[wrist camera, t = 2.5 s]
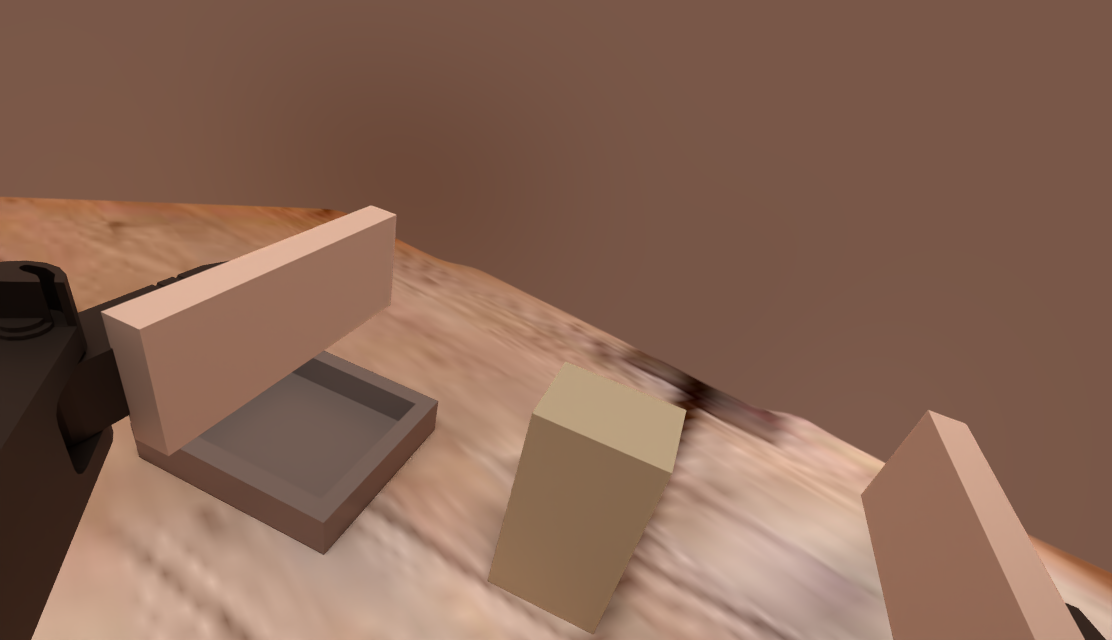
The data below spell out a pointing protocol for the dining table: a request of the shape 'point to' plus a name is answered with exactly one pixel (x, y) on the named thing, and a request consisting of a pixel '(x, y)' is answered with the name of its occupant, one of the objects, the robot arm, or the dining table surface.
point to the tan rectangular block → (584, 493)
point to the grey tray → (307, 448)
